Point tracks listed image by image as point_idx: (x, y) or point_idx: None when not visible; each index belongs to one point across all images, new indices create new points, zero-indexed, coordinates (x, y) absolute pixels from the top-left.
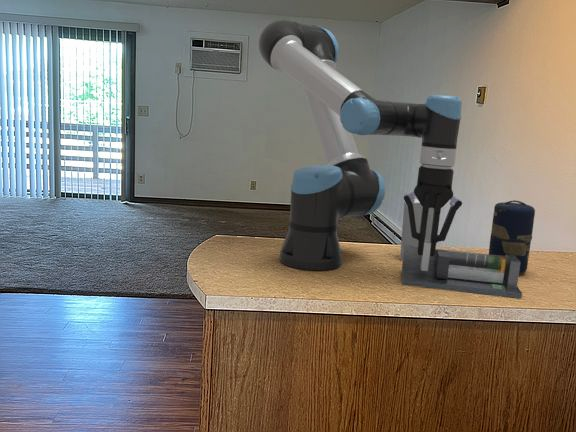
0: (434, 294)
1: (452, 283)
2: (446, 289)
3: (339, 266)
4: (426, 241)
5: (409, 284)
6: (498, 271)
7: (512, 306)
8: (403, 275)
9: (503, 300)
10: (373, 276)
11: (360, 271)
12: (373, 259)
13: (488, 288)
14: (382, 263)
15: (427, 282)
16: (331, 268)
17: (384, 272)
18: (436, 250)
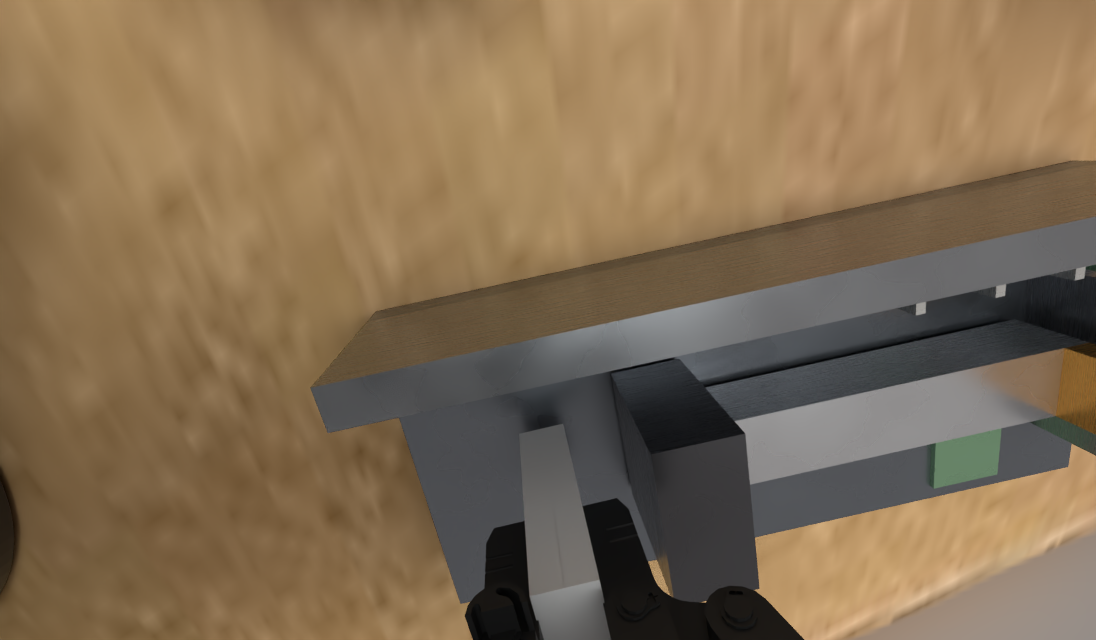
0: None
1: None
2: None
3: (5, 503)
4: (566, 632)
5: None
6: (1053, 387)
7: (962, 577)
8: (443, 535)
9: (941, 523)
10: (276, 535)
11: (164, 489)
12: (62, 114)
13: (906, 489)
14: (184, 200)
15: None
16: (2, 579)
17: (296, 422)
18: (633, 363)
